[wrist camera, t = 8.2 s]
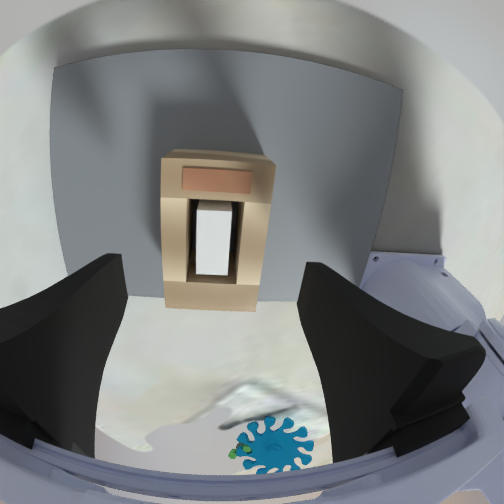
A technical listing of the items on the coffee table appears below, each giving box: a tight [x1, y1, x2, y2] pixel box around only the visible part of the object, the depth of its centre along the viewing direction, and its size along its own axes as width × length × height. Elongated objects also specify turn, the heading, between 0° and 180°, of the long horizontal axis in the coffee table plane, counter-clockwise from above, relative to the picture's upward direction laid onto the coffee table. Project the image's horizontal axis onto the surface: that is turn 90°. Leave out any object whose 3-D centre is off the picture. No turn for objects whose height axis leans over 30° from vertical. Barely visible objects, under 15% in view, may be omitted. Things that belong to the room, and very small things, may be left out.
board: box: [50, 49, 403, 301], centre depth 14 cm, size 22×16×4 cm
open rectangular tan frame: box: [161, 149, 276, 312], centre depth 15 cm, size 8×5×4 cm, turn 174°
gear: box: [229, 416, 314, 474], centre depth 30 cm, size 11×6×10 cm
